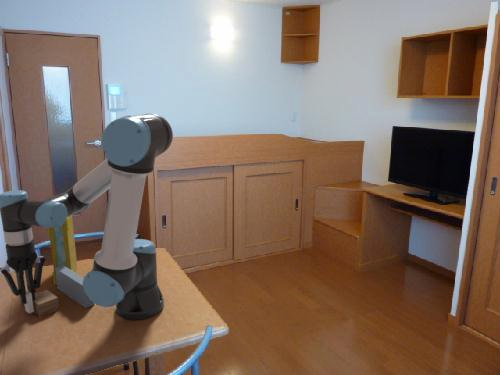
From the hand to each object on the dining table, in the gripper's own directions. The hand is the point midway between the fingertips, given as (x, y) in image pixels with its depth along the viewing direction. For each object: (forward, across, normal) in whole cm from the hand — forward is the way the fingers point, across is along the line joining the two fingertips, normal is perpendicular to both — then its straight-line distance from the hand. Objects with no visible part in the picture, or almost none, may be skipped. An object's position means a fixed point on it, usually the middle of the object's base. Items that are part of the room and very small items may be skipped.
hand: (29, 311), depth 128 cm
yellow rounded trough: (+1, -22, -19) cm, 29 cm away
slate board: (+1, -15, 0) cm, 15 cm away
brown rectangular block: (+2, -4, 0) cm, 5 cm away
